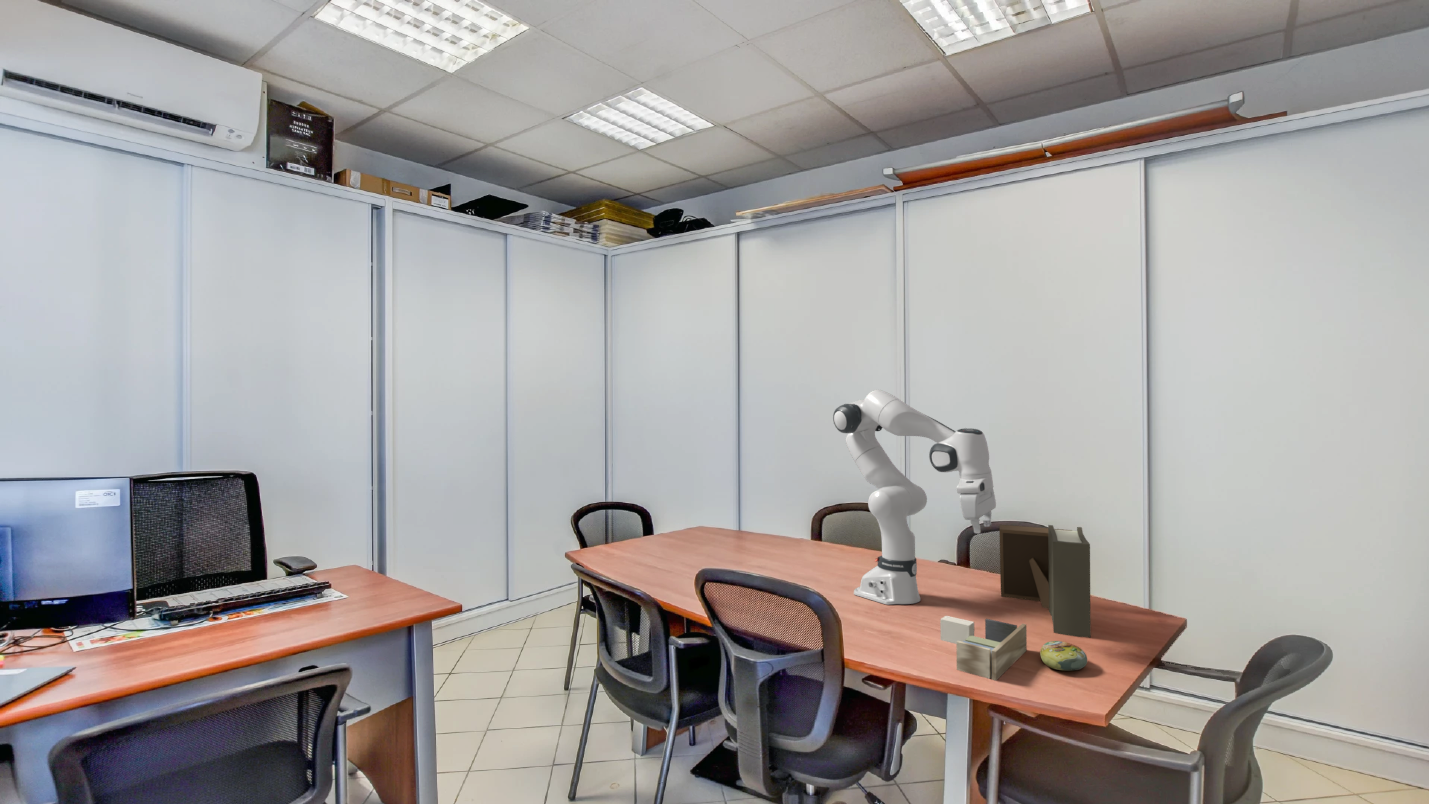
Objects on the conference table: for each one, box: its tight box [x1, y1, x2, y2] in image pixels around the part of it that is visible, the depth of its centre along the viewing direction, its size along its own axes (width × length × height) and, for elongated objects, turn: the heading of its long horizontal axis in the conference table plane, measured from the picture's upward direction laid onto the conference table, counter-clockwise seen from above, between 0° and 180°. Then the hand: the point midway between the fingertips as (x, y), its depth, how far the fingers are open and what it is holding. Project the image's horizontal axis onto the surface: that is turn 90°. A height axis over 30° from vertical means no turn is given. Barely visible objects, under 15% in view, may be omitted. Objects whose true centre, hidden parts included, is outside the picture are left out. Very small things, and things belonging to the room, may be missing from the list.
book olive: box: [965, 635, 1001, 648], centre depth 160 cm, size 8×4×6 cm, turn 48°
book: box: [1047, 524, 1092, 638], centre depth 188 cm, size 22×9×28 cm, turn 155°
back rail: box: [955, 623, 1028, 682], centre depth 163 cm, size 10×25×7 cm, turn 138°
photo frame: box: [998, 524, 1074, 610], centre depth 208 cm, size 15×22×25 cm
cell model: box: [1039, 640, 1088, 672], centre depth 159 cm, size 10×8×14 cm
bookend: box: [984, 618, 1018, 642], centre depth 172 cm, size 8×7×7 cm
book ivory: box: [939, 615, 975, 645], centre depth 175 cm, size 8×4×6 cm, turn 48°
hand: (983, 529), depth 183 cm, fingers open, 8 cm apart
